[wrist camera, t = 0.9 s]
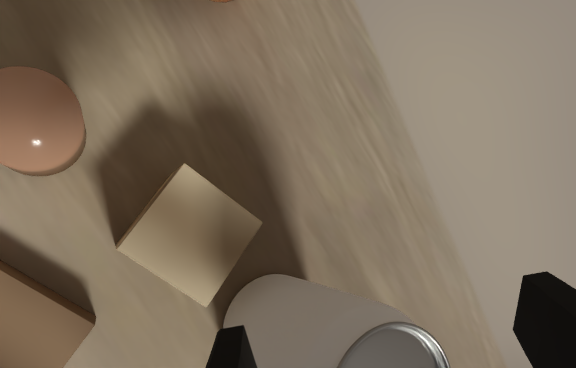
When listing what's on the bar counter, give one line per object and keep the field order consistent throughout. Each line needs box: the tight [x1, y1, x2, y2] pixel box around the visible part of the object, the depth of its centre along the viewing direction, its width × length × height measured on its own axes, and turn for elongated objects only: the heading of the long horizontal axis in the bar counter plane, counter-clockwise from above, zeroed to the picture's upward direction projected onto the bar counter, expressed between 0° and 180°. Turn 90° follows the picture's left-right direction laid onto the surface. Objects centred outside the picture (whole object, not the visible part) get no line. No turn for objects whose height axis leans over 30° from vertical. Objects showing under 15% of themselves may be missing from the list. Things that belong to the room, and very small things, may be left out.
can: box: [223, 274, 450, 368], centre depth 20 cm, size 6×6×12 cm
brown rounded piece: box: [0, 66, 86, 176], centre depth 19 cm, size 4×4×4 cm
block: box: [115, 163, 263, 308], centre depth 21 cm, size 5×5×4 cm
